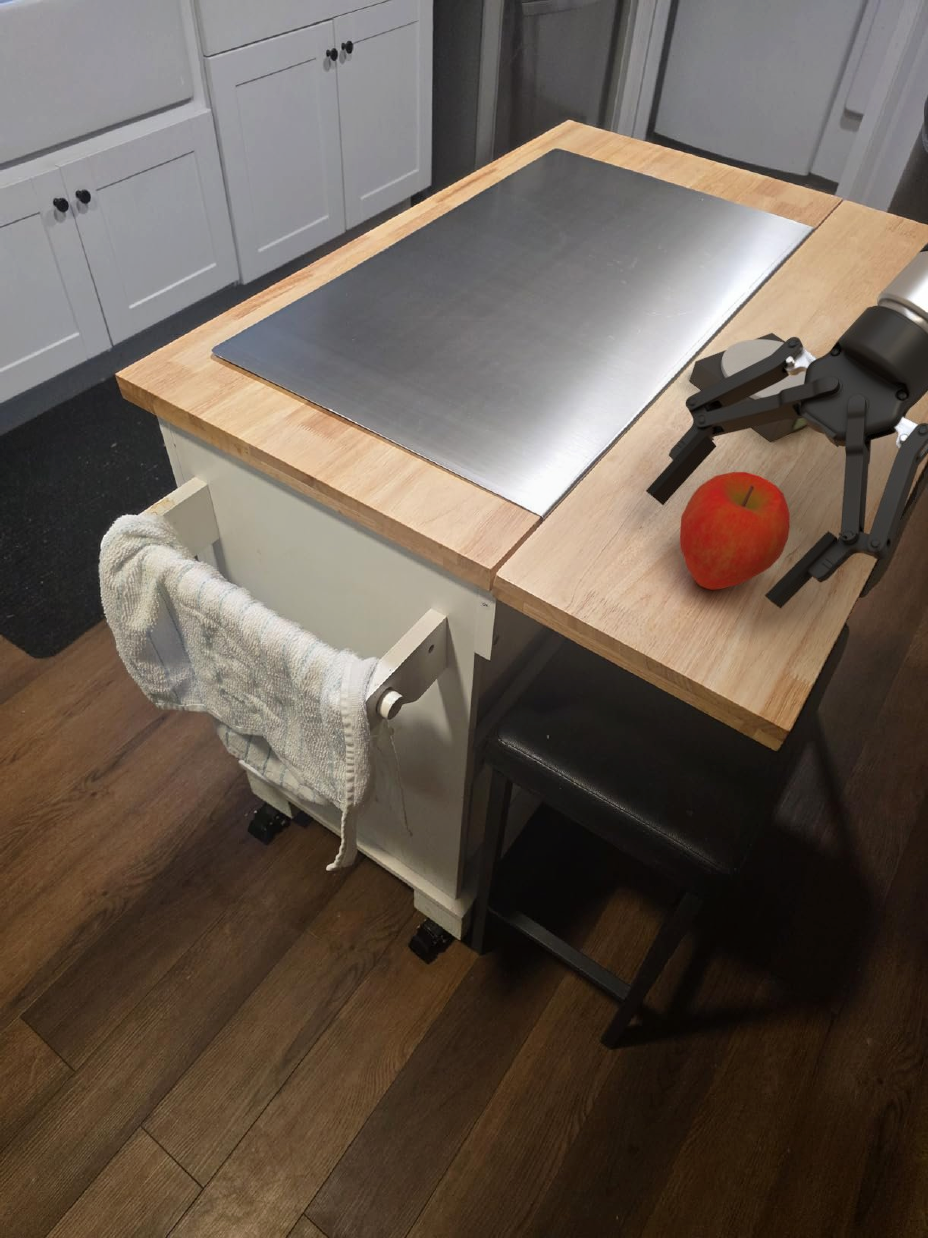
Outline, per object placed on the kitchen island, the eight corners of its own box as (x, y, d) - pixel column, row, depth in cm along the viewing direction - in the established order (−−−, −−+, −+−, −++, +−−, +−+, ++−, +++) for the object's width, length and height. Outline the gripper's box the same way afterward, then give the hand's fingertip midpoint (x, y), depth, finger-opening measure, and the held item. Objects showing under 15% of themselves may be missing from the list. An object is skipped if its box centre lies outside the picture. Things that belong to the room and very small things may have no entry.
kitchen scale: (848, 409, 93) (860, 384, 91) (772, 443, 88) (782, 418, 86) (764, 351, 100) (773, 327, 97) (688, 381, 95) (696, 356, 92)
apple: (730, 637, 71) (775, 542, 63) (642, 584, 74) (674, 487, 66) (776, 580, 76) (824, 485, 67) (692, 533, 79) (728, 437, 71)
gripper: (1061, 444, 62) (838, 659, 67) (797, 281, 74) (627, 473, 80) (1064, 403, 56) (819, 644, 61) (776, 233, 68) (593, 445, 74)
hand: (710, 548), depth 70 cm, fingers open, 13 cm apart
